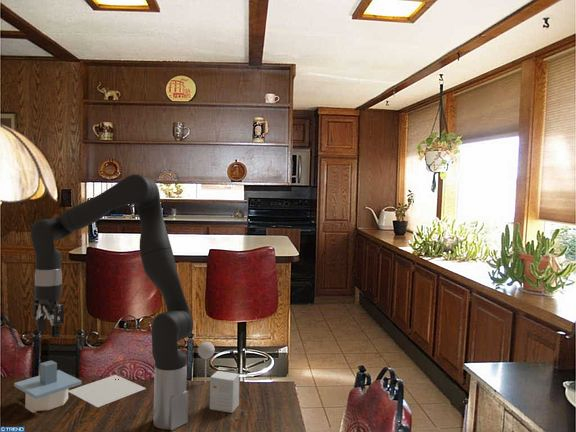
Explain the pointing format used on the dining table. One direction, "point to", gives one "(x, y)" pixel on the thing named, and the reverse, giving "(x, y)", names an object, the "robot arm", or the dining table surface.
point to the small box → (224, 391)
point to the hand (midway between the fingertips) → (47, 334)
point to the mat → (106, 390)
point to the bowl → (46, 401)
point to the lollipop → (206, 352)
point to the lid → (47, 381)
